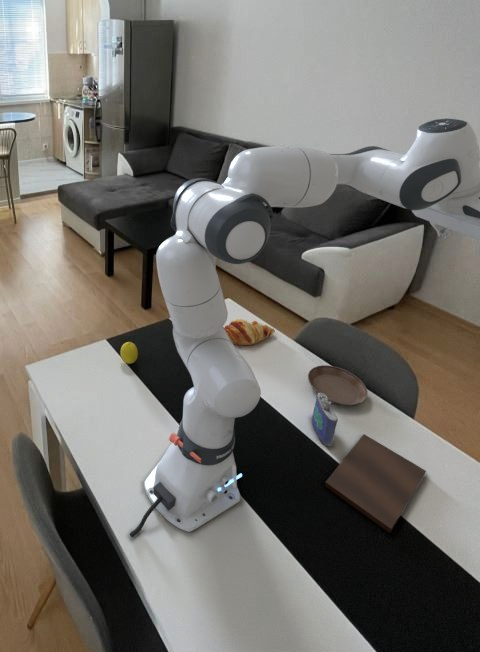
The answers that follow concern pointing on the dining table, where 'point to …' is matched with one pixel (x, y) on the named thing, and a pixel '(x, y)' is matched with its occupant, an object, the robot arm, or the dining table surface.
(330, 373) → the saucer
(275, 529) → the dining table surface
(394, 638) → the dining table surface
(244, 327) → the croissant
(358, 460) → the cutting board
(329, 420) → the flask
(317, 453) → the dining table surface
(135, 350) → the lemon
